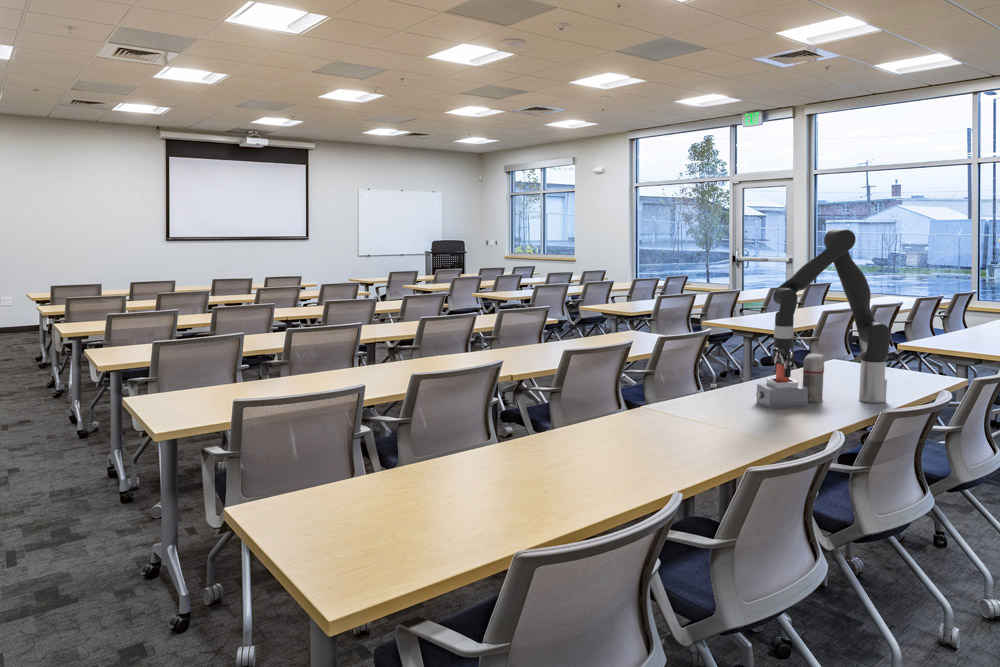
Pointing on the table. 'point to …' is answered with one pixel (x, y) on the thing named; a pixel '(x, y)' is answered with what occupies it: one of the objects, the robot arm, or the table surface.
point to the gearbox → (782, 394)
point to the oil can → (781, 372)
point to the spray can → (813, 376)
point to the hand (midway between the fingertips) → (782, 375)
